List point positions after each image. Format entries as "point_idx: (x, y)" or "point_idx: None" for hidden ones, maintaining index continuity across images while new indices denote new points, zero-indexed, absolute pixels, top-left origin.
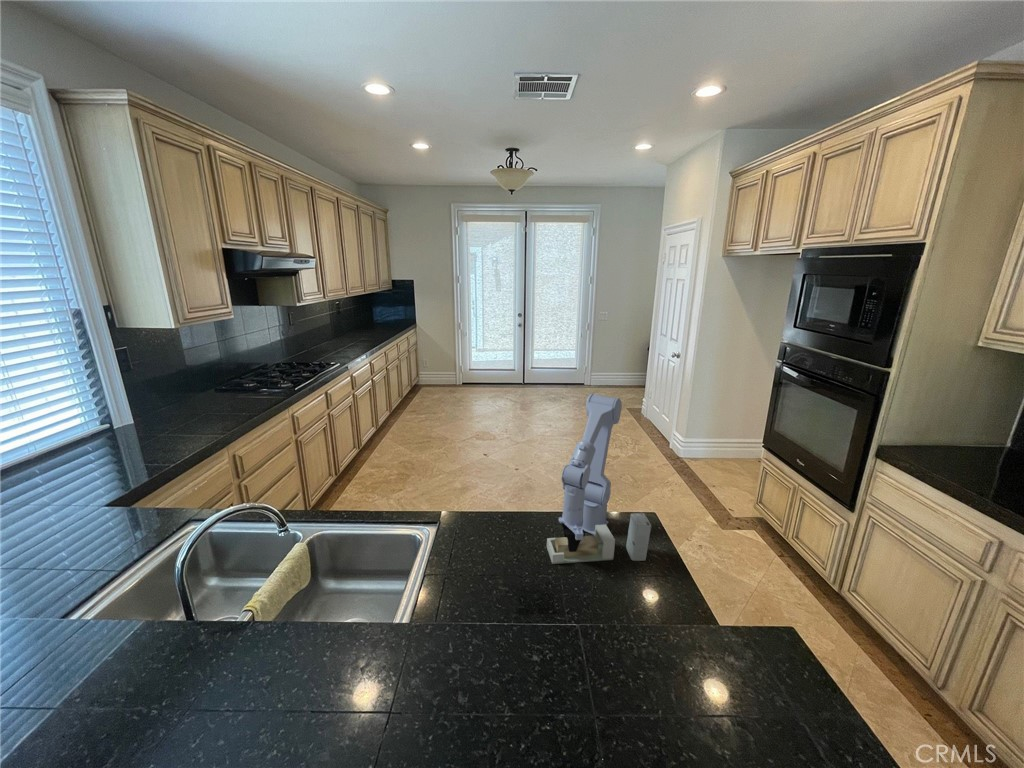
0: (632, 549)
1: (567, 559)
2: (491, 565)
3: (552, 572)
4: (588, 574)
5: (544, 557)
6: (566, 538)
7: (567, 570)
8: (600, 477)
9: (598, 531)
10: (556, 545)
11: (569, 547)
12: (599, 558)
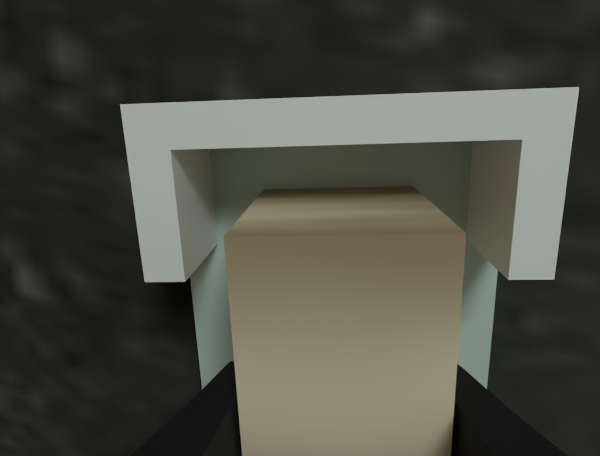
0: None
1: (223, 292)
2: None
3: (43, 80)
4: (48, 418)
5: (302, 26)
6: (413, 423)
7: (86, 251)
8: None
9: None
10: (344, 213)
11: (189, 403)
12: None
